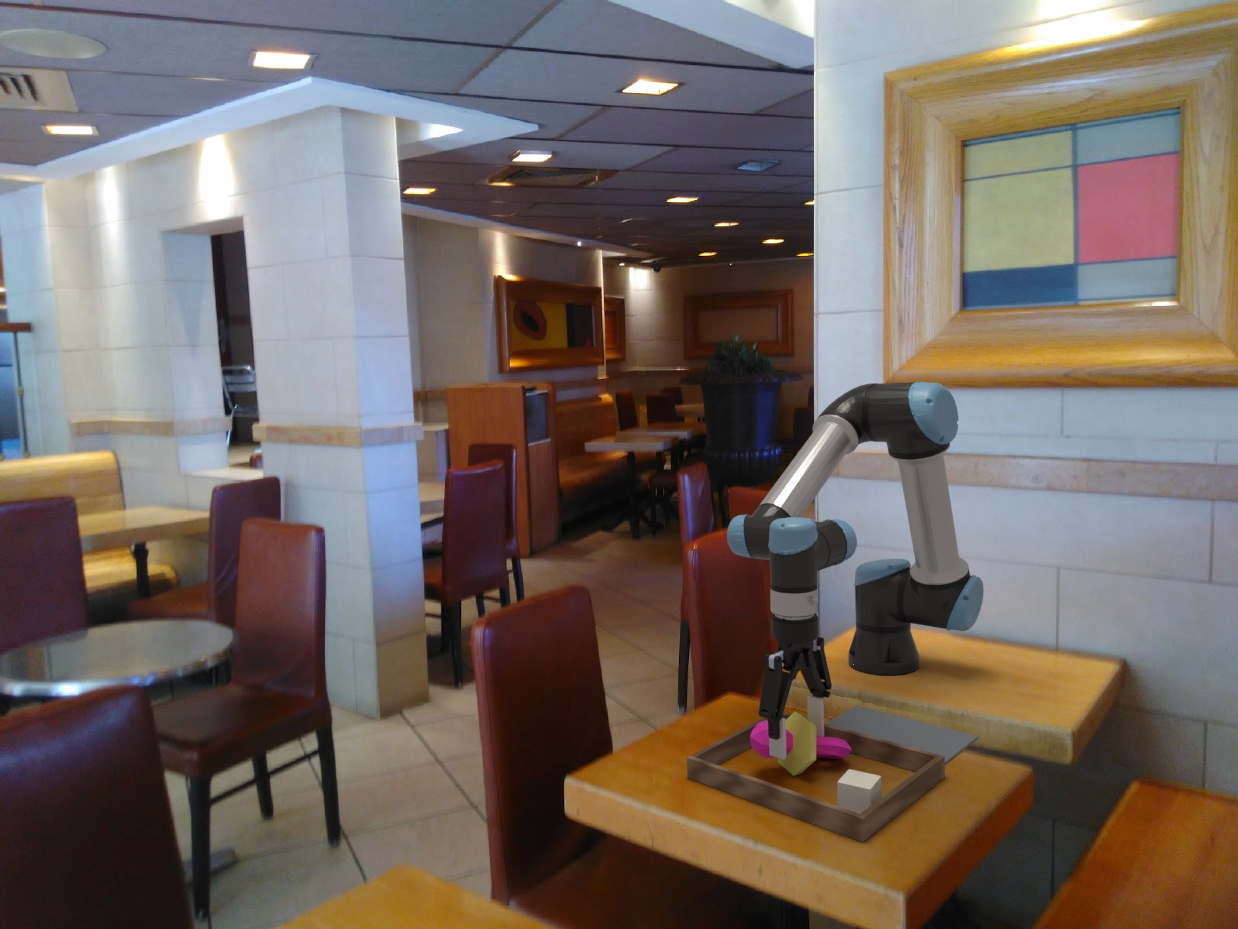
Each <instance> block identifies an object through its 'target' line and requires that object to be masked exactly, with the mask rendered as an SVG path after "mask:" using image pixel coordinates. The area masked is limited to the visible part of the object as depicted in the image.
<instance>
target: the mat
mask: <svg viewBox="0 0 1238 929" xmlns="http://www.w3.org/2000/svg"><path fill="white" fill-rule="evenodd" d="M824 723H825V724H828V725H832V726H836V727H839V728H843V729H847V730H850V731H854V732H857V733H861V734H865V735H868V736H872V737H876V738H879V739H883V740H887V741H890V742H894V743H898V744H901V745H905V746H909V747H912V748H916V749H919V750H923V751H927V752H930V753H934V754H938V755H941V756H945V765H947V763H948V764H949V762H951V761H952V760H953V759H954V758H955V757H957V756H958V755H960V754H961V753H962V752H963V751H964V750H967V748H968V747H970V746H971V745H972V744H973V743H975V742H976V741H978V740H979V738H980V736H979V735H977V734H976V735H975V734H973V733H969V732H968V733H967V732H964V731H960V730H956V729H953V728H947V727H944V726H939V725H937V724H932V723H927V722H925V721H919V720H916V719H912V718H910V717H909V718H907V717H904V716H899V715H897V714H893V713H888V712H885V711H880V710H876V709H872V708H868V707H864V706H861V705H857V704H856V705H855V706H853V707H851V708H849V709H847V710H846V711H843V712H842V713H841V714H838V715H837V716H836V717H833V718H832V719H830V720H829V721H827V722H824Z"/></svg>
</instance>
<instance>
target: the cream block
mask: <svg viewBox="0 0 1238 929" xmlns="http://www.w3.org/2000/svg"><path fill="white" fill-rule="evenodd" d="M836 785H837V786H836V788H837V789H836V790H837V806H839V807H841V808H844V809H847V810H850V811H853V812H856V813H859V814H860V813H862V812H863V811H864V810H866V809H867V808H868V807H870V806H871V805H872V804H874V803H875V802H876V801H878V800H879V799H880V798H882V797H883V795H882V791H883V790H882V776H881V775H878V774H873V773H868V772H864V771H860V770H857V769H856V770H855V769H850V768H849V769H847V771H846V772H845V773H844V774H843V775H842V776H841V777H840V778H839V779H838V781H837V783H836Z"/></svg>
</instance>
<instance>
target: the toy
mask: <svg viewBox="0 0 1238 929" xmlns="http://www.w3.org/2000/svg"><path fill="white" fill-rule="evenodd" d="M790 714H791V715H790V716H789V717H788V718H787V719H786V759H784V760H783V759H780V758H777V763H778V764H779V766H781V767H782V768H784V769H785V770H786V771H787V772H788V773H789V774H790V775H791V776H793V777H795V776H797V775H801V774H802V773H803V772H804V771H805V770H807V769H808V768H809V766H811V765H813V763H814V762H816V761H817V758H818V759H821V758H822V759H830V760H832V759H833V760H834V759H846V758H847V757H848V756H849V755H850V754H851V753H850V752H851V751H852V749H851V747H850V746H849V745H848V743H847V742H846V741H845V740H842V739H839V738H832V737H818V736H816V725H814V724H813V723H812V722H810V721H809V720H807V719H808V718H806V717H805V716H803V715H802V714H800V713H799V712H797V711H793V712H792V713H790ZM750 741H751V746H752V747H751V748H752V749H753V750H754V751H755V752H756V753H757V754H758V755H760V756H761V757H762V758H764V759H768V758H769V759H770V758H775V757H774V756H771V755H770V750H769V736H768V721H767V720H765V721H763V722H760V723H758V724H757V725H756V726H755V728H754V729H753V730H752V732H751V735H750Z"/></svg>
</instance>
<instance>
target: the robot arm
mask: <svg viewBox="0 0 1238 929" xmlns="http://www.w3.org/2000/svg"><path fill="white" fill-rule="evenodd" d="M958 421H959V412H958V406H957V404H956V400H955V397H954V396H953V393H951V391H950V390H949V388H948V387H946V386H944V384H941V383H939V382H926V381H922V380H921V381H915V382H911V381H910V382H886V383H885V382H884V383H883V382H881V383H878V382H873V383H865V384H860V385H859V386H856V387H853V388H852V389H850V390H848V391H846V392H845V393H843V394H841V395H840V396H839V397H837V398H836V399H834V401H832V402H831V403H830V404H828V405H827V406H826V408H825V409H824V410H822V412H821V413H820V414H819V415H818V416H817V418H816V419H815V421H814V422H813V425H812V434H811V435H810V436H809V438H808V439H807V440H806V441H805V443H804V444H803V446H802V447H801V448H800V450H798V452H797V454H796V455H795V456H794V458H793V459H792V460H791V461H790V463H789V465H788V466H787V467H786V469H785V470H784V471H783V472H782V474H781V475H780V477H779V478H778V479H777V480H776V482H775V483H774V485H773V486H772V488H770V489H769V491H768V493H767V494H766V496H764V499H762V501H761V502H760V504H759V505H758V507H757V508H756V509H755V510H754V512H753V513H752V514H751V515H750V514H748V513H746V514H738V515H737V516H734V517H733V518H732V519H731V521H730V522H729V524H728V527H727V531H726V541H727V545H728V546H729V549H730V550H731V551H732V553H733V554H734V555H738V556H740V557H744V558H750V559H751V560H752V559H753V560H755V559H757V560H765V561H766V560H767V561H769V572H770V590H769V591H770V593H769V594H770V598H769V599H770V612H771V613H772V615H771V616H770V621H771V622H770V624H771V629H770V630H771V637H773V639H774V640H775V641H776V643H777V648H776V651H775V653H774V654H771V653H770V654H769V653H766V654H765V656H764V665H765V669H764V675H763V681H762V688H761V693H760V694H761V695H760V701H759V708H758V717H760V718H767V719H768V736H769V750H770V755H771V756H774V757H773V758H777V759H778V758H780V759H783V760H784V759H786V719H785V718H782V715H783V712H784V711H785V708H786V705H787V700H788V698H789V695H790V690H791V687H792V684H793V681H794V680H796V678H797V677H798V673H799V672H800V673H801V676H802V678H803V680H804V682H805V684H806V686H807V688H808V691H809V692H810V694H809V695H807V696H806V697H807V698H806V700H807V701H806V702H807V709H806V710H807V719H808V720H809V721H810V722H812V723H813V724H814V725H816V736H819V737H823V736H824V723H825V700H824V699H825V698H827V699H828V698H830V696H831V690H832V686H833V684H832V681H831V675H830V671H829V666H828V661H827V656H826V653H825V639H824V637H822V636H819V635H820V634H819V616H818V615H817V613H818V611H819V606H818V605H819V604H818V602H819V598H818V587H819V586H818V572H819V571H821V570H824V569H827V568H831V567H832V566H838V565H841V564H842V563H844V562H845V561H847V560H848V559H850V558H851V557H852V556H853V555H854V554H855V552H856V551H857V546H858V538H857V534H856V532H855V530H854V529H853V527H852V526H851V525H850V524H849V523H848V522H846V521H845V520H842V519H838V518H837V519H836V518H835V519H834V518H833V519H826V520H823V521H814V520H813V519H811V518H808V517H803V516H804V514H805V512H806V511H807V510H808V509H809V507H810V506H811V505H812V503H813V501H814V500H815V498H816V497H817V496H818V495H819V493H820V491H821V490H822V489H823V487H824V486H825V484H826V483H827V481H828V480H829V478H830V477H831V476H832V475H833V472H834V471H835V470H836V468H837V467H838V466H839V465H840V463H841V461H842V459H843V458H844V457H845V456H846V455H850V454H851V453H853V452H854V451H855V450H856V449H857V447H858V446H859V445H861V444H863V443H868V442H869V443H870V442H874V443H876V442H877V443H886V446H887V447H886V448H887V452H888V456H889V457H890V458H892V460H893V459H894V460H896V461H897V462H898V469H899V474H900V481H901V485H902V491H903V497H904V503H905V509H906V516H907V521H908V526H909V532H910V538H911V543H912V549H913V555H914V560H915V561H914V563H913V564H912V565H911V563H910V561H909V560H908V559H904V558H886V559H885V558H884V559H878V560H877V559H874V560H871V561H866V562H863V563H861V564H859V565H858V566H857V567H856V569H855V573H854V583H853V584H854V585H853V586H854V600H855V601H854V602H855V603H854V604H855V605H854V606H855V607H854V608H855V631H854V634H853V638H852V640H851V644H850V647H849V649H848V653H847V654H848V655H847V656H848V657H847V659H848V662H847V663H848V665H849V666H850V667H851V668H853V669H854V670H857V671H859V672H863V673H867V674H870V675H871V674H872V675H881V676H897V675H906V674H910V673H913V672H915V671H916V670H918V669H919V668H920V654H919V651H918V648H917V646H916V642H915V640H914V637H913V634H912V629H911V627H912V626H911V625H912V624H914V625H919V626H925V627H932V628H936V629H937V628H938V629H943V630H944V629H945V630H947V631H958V632H966V631H969V630H970V629H972V628H973V626H974V625H975V624H976V621H977V620H978V617H979V615H980V612H981V609H982V605H983V601H984V592H985V591H984V582H983V580H982V579H981V577H979V576H977V575H974V574H973V575H971V572H970V567H969V564H968V562H967V561H966V560H965V559H964V558H962V557H961V556H960V554H959V546H958V541H957V534H956V529H955V523H954V516H953V510H952V501H951V495H950V490H949V489H950V488H949V483H948V477H947V470H946V464H945V458H944V455H945V453H946V452H947V451H948V450H949V449H950V447H951V442H953V440H955V439H956V436H957V433H958V429H959V425H958ZM853 664H854V665H853ZM776 711H777V712H776Z"/></svg>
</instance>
